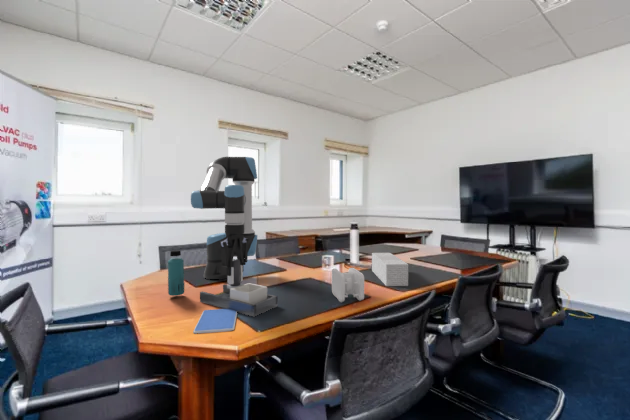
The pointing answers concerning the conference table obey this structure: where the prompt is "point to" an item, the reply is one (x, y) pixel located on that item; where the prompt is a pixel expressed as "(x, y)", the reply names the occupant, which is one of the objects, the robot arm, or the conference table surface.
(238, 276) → the open tray with handle
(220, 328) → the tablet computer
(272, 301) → the bay
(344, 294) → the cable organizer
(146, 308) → the conference table surface
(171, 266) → the beverage bottle
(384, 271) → the grey rectangular block
